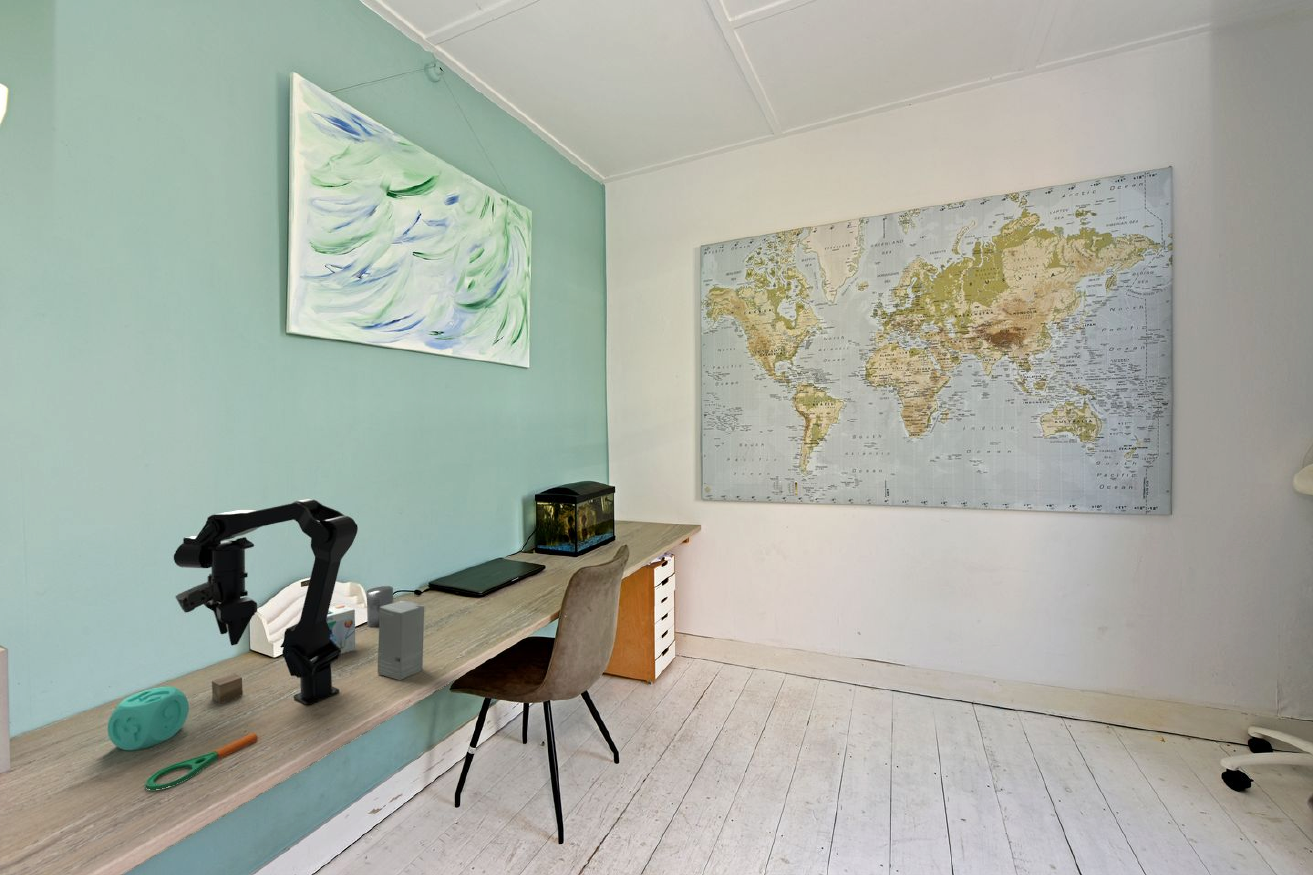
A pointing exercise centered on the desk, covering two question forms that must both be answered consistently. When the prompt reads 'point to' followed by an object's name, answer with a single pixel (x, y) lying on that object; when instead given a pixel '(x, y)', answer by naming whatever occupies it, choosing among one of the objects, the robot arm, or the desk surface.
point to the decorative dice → (148, 718)
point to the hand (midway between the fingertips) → (228, 639)
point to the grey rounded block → (377, 603)
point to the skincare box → (400, 639)
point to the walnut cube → (227, 688)
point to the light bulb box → (342, 627)
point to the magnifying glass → (198, 762)
